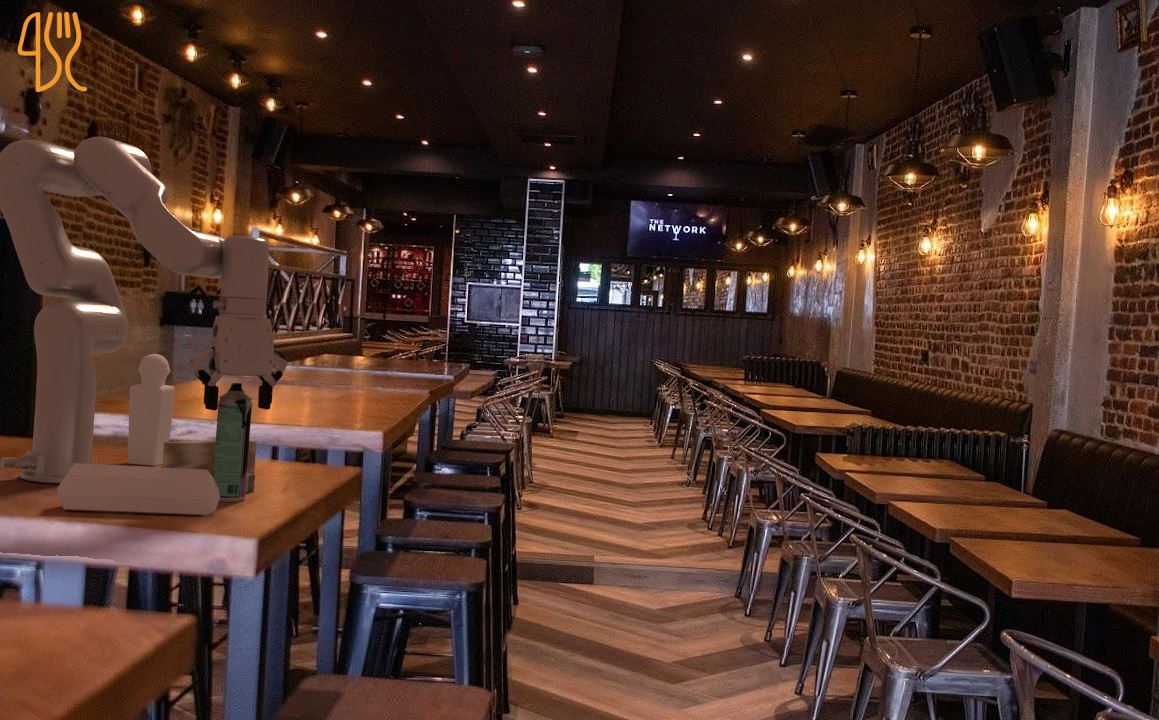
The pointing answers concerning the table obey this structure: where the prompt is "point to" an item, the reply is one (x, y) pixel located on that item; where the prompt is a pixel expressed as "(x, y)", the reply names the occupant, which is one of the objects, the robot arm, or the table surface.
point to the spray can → (232, 444)
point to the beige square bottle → (150, 412)
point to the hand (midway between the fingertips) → (238, 409)
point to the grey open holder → (203, 457)
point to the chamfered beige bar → (138, 490)
